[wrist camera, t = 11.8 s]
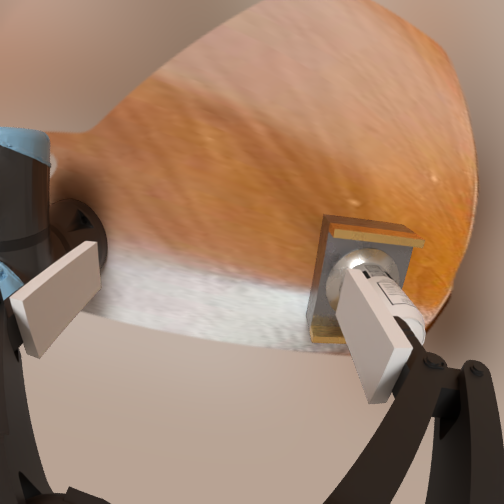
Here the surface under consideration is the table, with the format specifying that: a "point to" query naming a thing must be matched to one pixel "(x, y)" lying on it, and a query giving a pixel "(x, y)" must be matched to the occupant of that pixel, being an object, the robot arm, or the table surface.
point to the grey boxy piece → (349, 255)
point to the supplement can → (392, 297)
